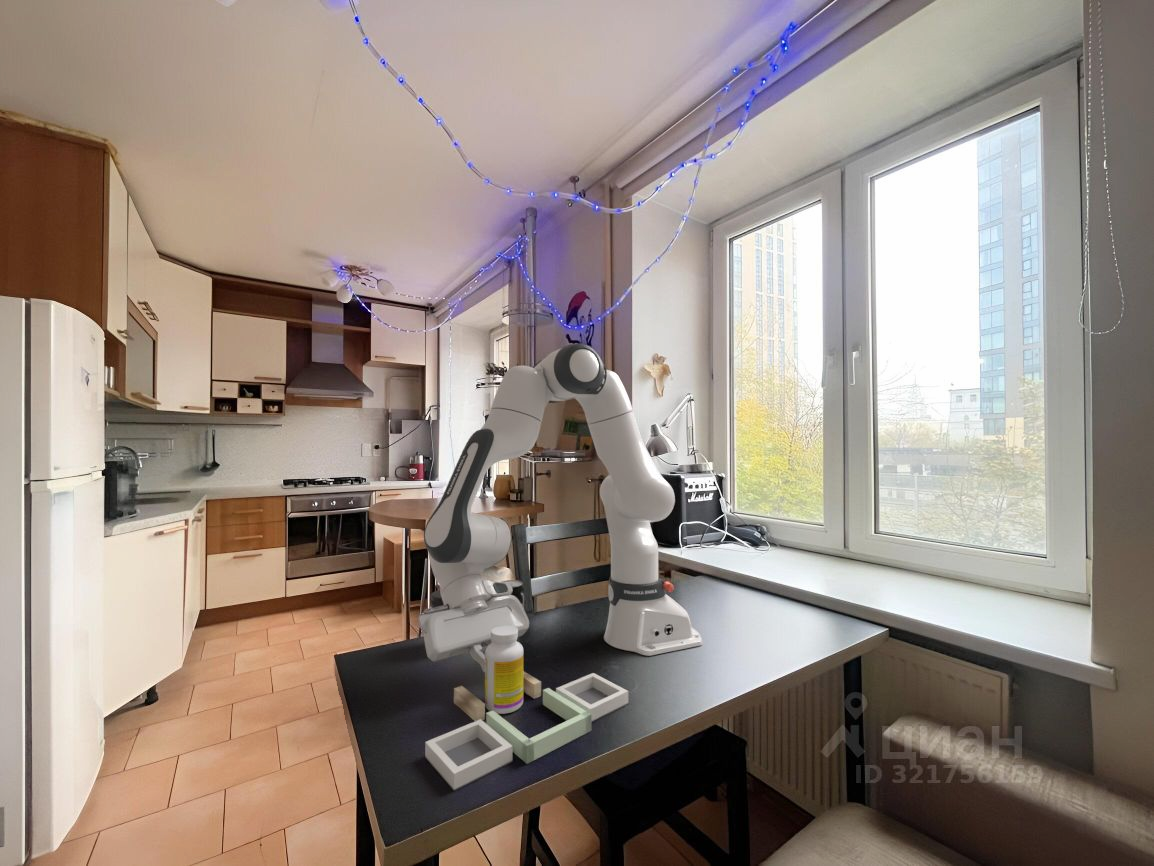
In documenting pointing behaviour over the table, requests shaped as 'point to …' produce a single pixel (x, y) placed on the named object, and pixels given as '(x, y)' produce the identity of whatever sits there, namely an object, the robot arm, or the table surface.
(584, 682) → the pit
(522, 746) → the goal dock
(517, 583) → the beverage can
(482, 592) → the robot arm
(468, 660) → the table surface
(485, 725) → the tray
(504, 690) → the supplement bottle
